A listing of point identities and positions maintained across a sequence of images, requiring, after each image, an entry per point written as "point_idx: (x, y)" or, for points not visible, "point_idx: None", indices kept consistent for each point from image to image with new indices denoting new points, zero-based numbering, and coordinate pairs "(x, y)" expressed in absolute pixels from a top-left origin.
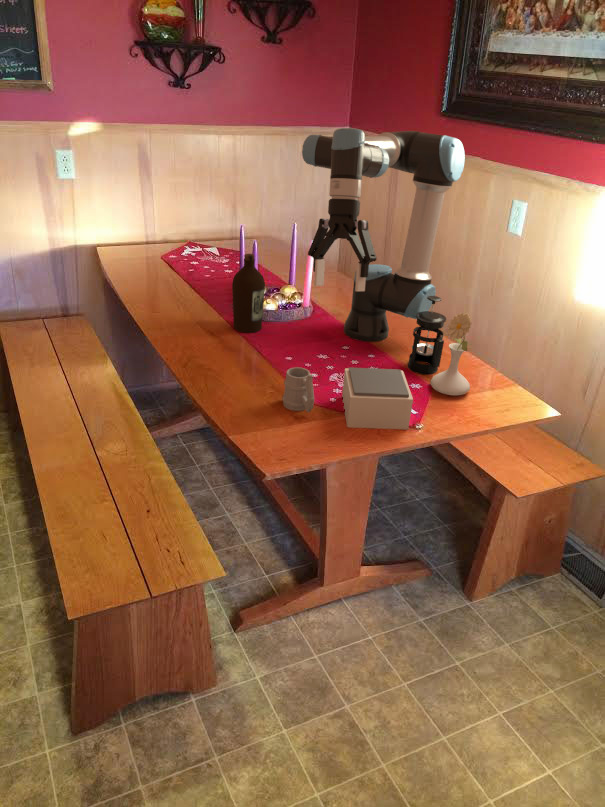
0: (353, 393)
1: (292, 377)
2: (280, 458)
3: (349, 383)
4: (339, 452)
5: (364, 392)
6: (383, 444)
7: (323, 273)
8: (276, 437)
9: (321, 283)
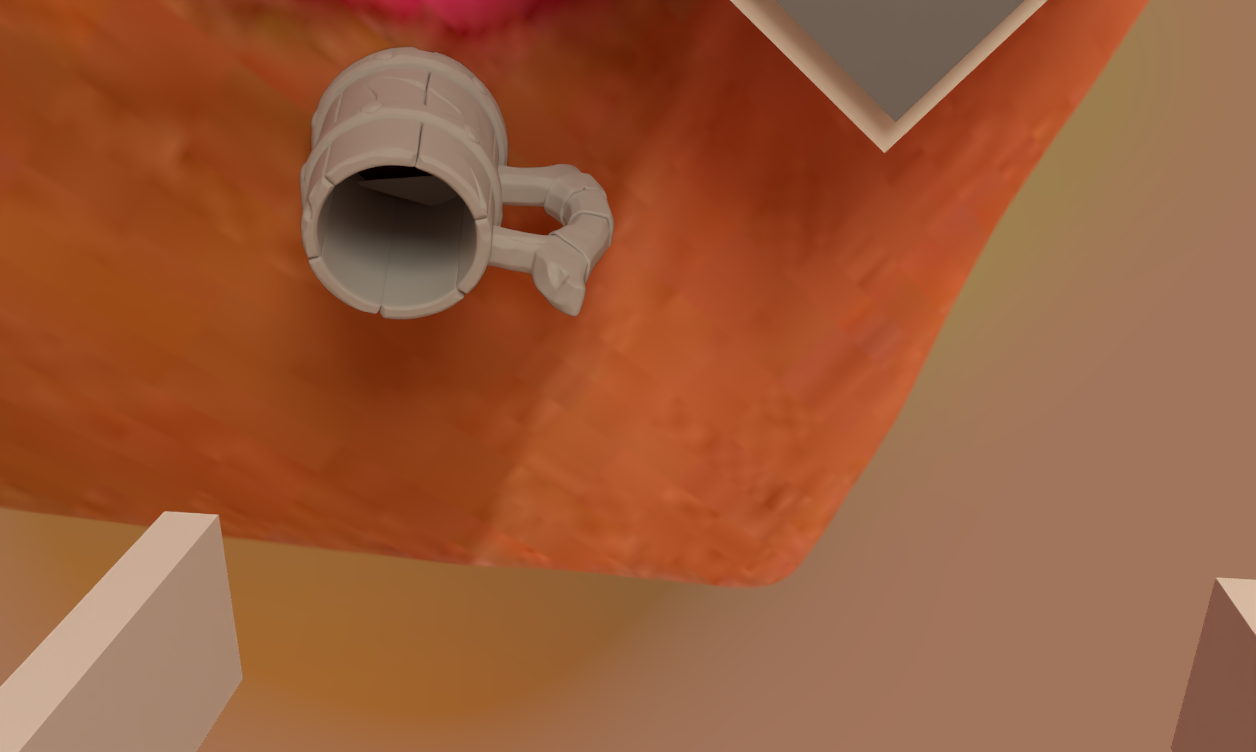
0: (869, 98)
1: (431, 313)
2: (760, 500)
3: (750, 1)
4: (935, 278)
5: (951, 59)
6: (1087, 34)
7: (101, 680)
8: (621, 423)
9: (205, 590)
